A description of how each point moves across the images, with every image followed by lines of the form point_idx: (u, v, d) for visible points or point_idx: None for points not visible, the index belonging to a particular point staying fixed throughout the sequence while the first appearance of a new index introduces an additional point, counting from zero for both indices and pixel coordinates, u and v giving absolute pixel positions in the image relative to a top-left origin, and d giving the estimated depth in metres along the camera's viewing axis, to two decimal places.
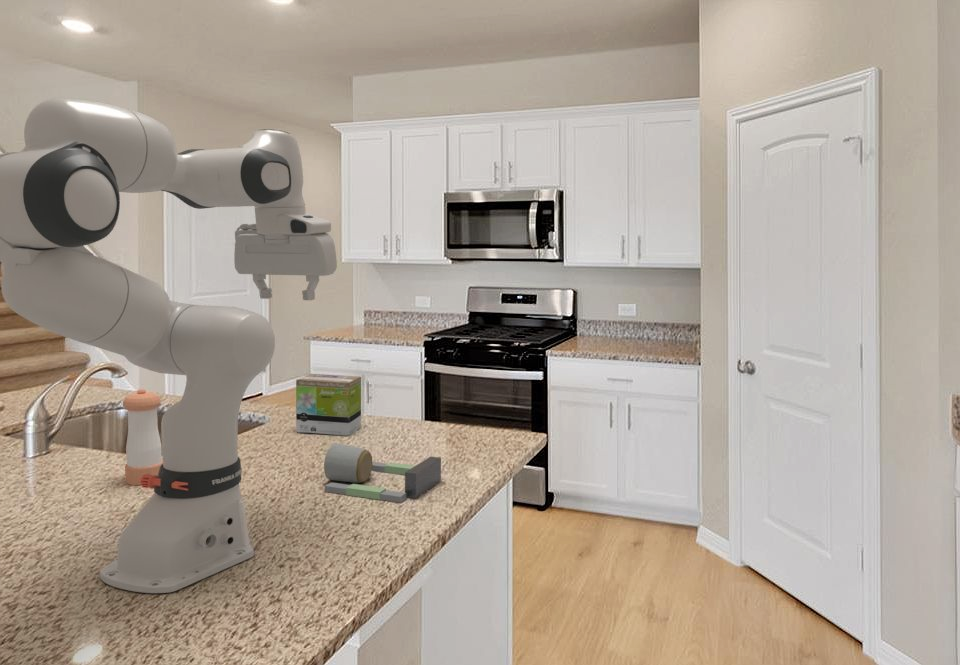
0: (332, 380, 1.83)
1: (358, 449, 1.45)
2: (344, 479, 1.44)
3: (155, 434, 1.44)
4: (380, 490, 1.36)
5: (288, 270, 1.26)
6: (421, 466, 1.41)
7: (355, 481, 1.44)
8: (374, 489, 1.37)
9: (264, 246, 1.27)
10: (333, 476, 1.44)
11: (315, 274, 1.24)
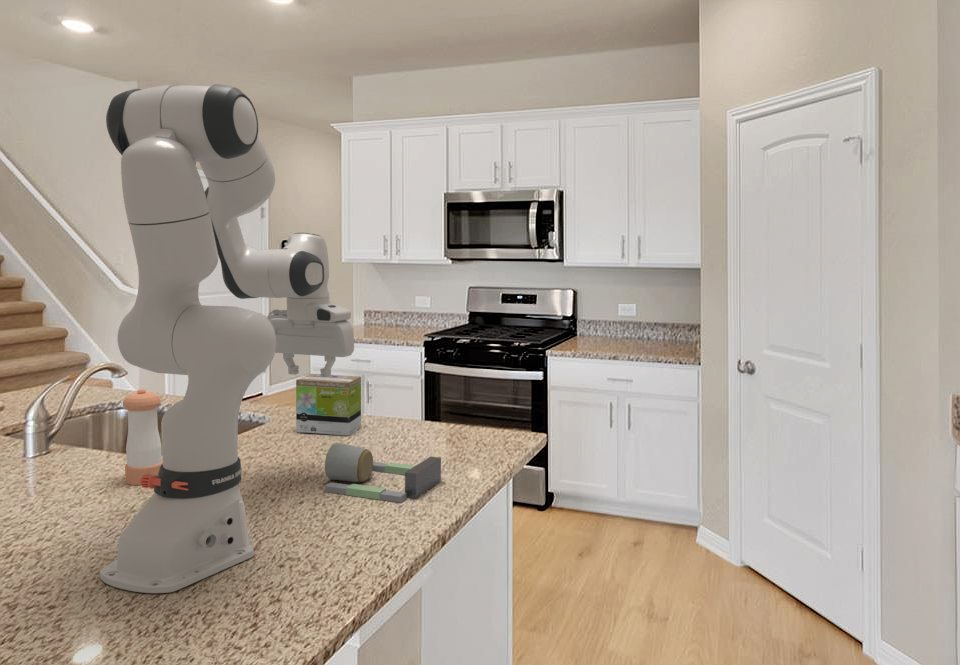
0: (332, 380, 1.83)
1: (359, 449, 1.45)
2: (345, 478, 1.44)
3: (155, 434, 1.44)
4: (380, 490, 1.36)
5: (312, 351, 1.46)
6: (421, 466, 1.41)
7: (356, 480, 1.44)
8: (374, 489, 1.37)
9: (292, 330, 1.48)
10: (334, 475, 1.44)
11: (335, 355, 1.44)
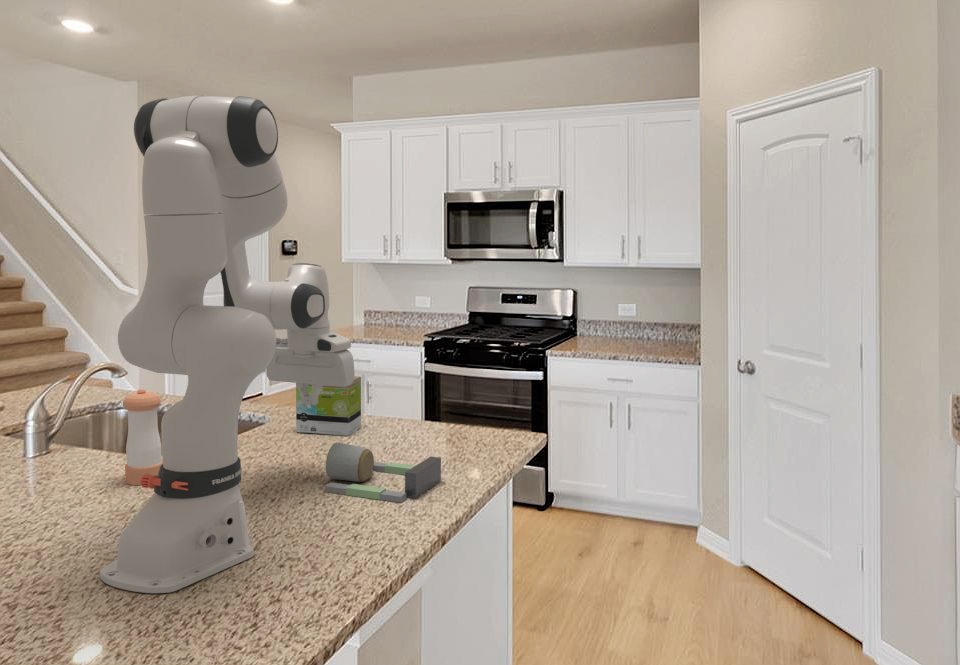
0: None
1: (359, 448, 1.45)
2: (346, 478, 1.45)
3: (155, 434, 1.44)
4: (380, 490, 1.36)
5: (313, 380, 1.47)
6: (421, 466, 1.41)
7: (356, 480, 1.44)
8: (374, 489, 1.37)
9: (293, 359, 1.49)
10: (335, 475, 1.45)
11: (336, 385, 1.45)
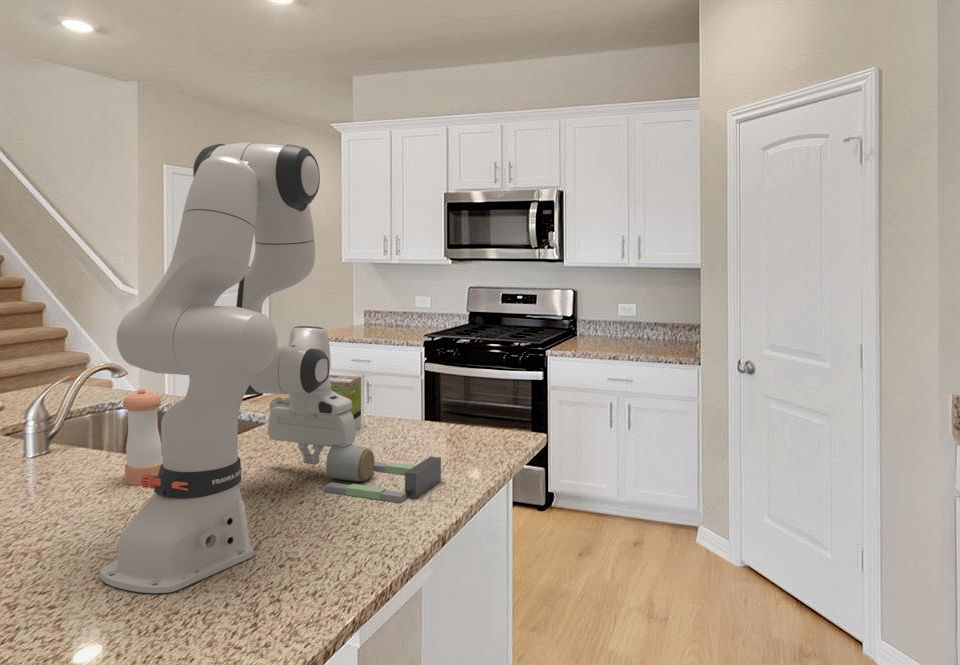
0: (332, 380, 1.83)
1: (360, 448, 1.46)
2: (346, 478, 1.45)
3: (155, 434, 1.44)
4: (380, 490, 1.36)
5: (314, 441, 1.48)
6: (421, 466, 1.41)
7: (357, 480, 1.45)
8: (374, 489, 1.37)
9: (294, 419, 1.50)
10: (335, 475, 1.45)
11: None
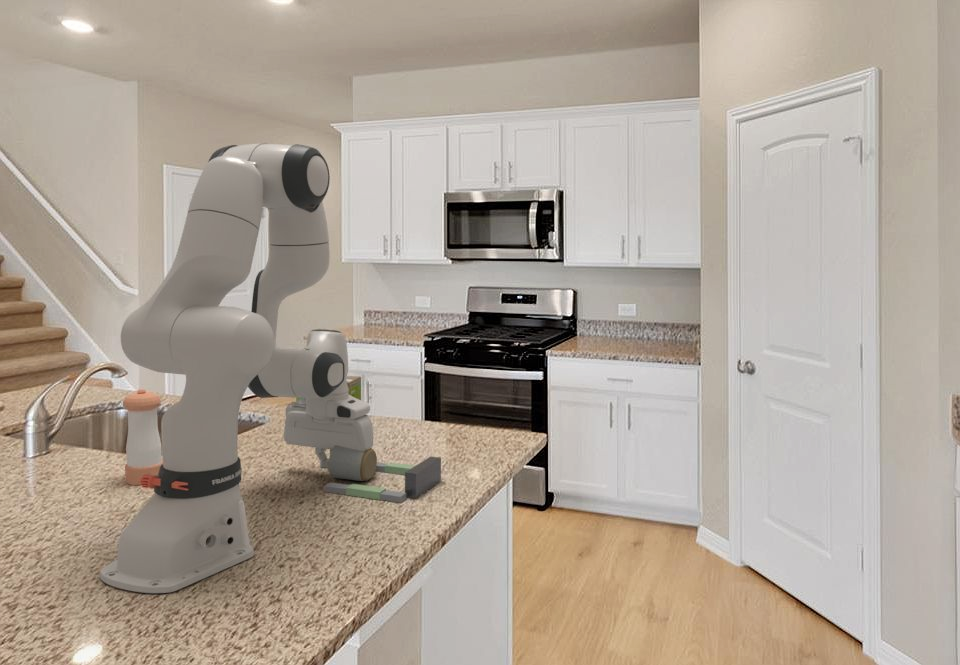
0: None
1: None
2: (348, 477, 1.45)
3: (155, 434, 1.44)
4: (380, 490, 1.36)
5: (331, 445, 1.47)
6: (421, 466, 1.41)
7: (359, 479, 1.45)
8: (374, 489, 1.37)
9: (311, 423, 1.48)
10: (337, 474, 1.45)
11: None
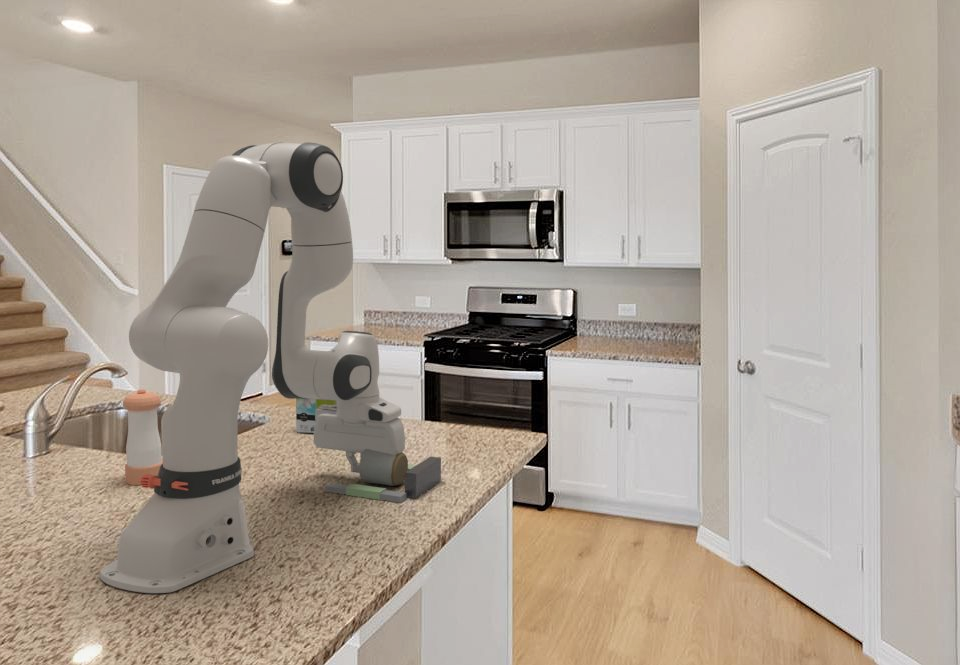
0: None
1: None
2: (379, 482, 1.42)
3: (155, 434, 1.44)
4: (380, 490, 1.36)
5: (362, 449, 1.44)
6: (421, 466, 1.41)
7: (390, 484, 1.42)
8: (374, 489, 1.37)
9: (342, 426, 1.46)
10: (368, 478, 1.42)
11: None
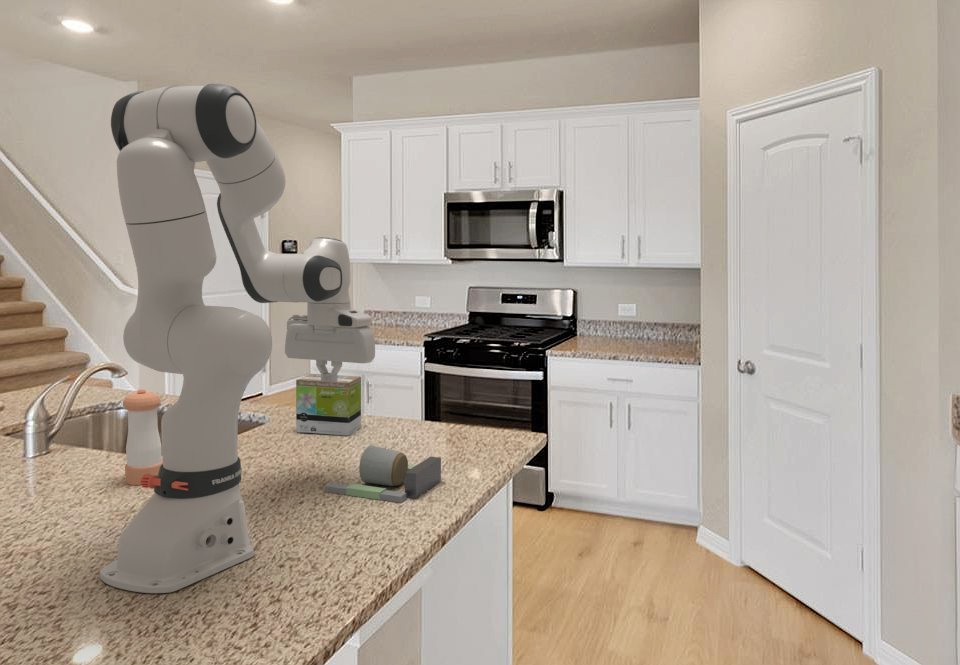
0: None
1: (393, 452, 1.43)
2: (379, 482, 1.42)
3: (155, 434, 1.44)
4: (380, 490, 1.36)
5: (332, 357, 1.45)
6: (421, 466, 1.41)
7: (390, 484, 1.42)
8: (374, 489, 1.37)
9: (312, 335, 1.46)
10: (368, 479, 1.43)
11: (356, 361, 1.43)
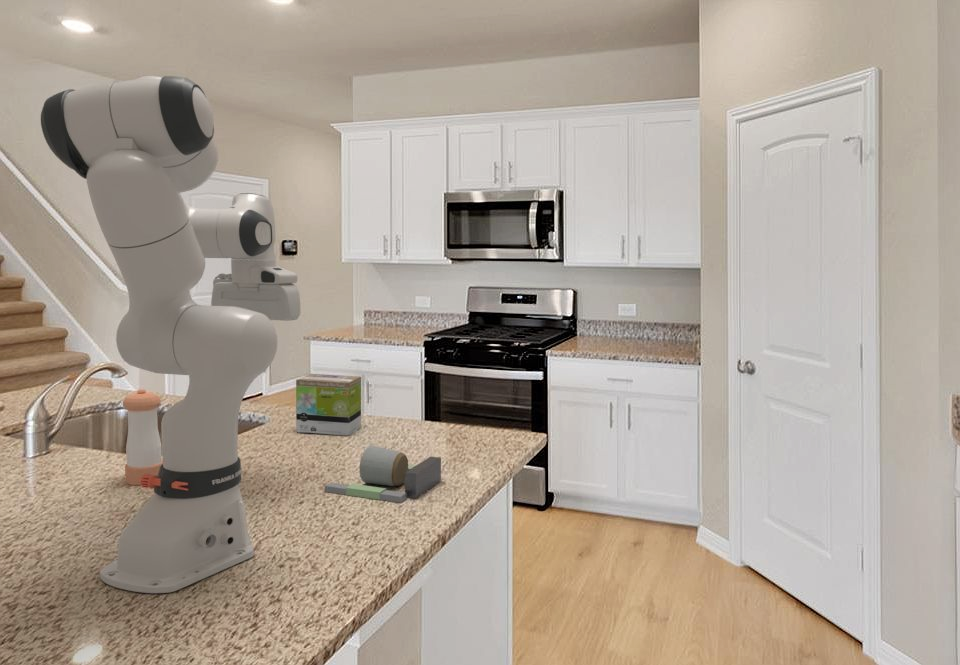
0: (332, 380, 1.83)
1: (394, 452, 1.43)
2: (379, 482, 1.42)
3: (155, 434, 1.44)
4: (380, 490, 1.36)
5: None
6: (421, 466, 1.41)
7: (390, 484, 1.42)
8: (374, 489, 1.37)
9: (237, 293, 1.45)
10: (368, 479, 1.43)
11: (280, 318, 1.41)
